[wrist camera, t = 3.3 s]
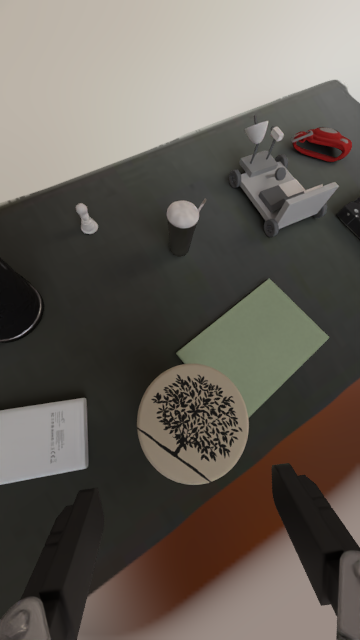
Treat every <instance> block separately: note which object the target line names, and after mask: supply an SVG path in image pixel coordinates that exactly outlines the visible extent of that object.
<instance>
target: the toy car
mask: <svg viewBox="0 0 360 640" xmlns="http://www.w3.org/2000/svg"><path fill="white" fill-rule="evenodd" d="M254 122H255V125H253V126H251V127H249V128H246V129H245V130H244V131H245V133H246V134H247V136H248V138H249V139H250V140H251V141H252V142H253V143H254V144H257V145H256V147H255V150H254V153H253V155H250V156H247V157H244V158H241V159H240V162H239V164H240V165H241V166H242V168H243V169H244V170H245V172H246V173H244V174H240V172H239V171H238V170H237V169H235V170H232V171H231V172H230V174H229V182H230V184H231V186H232V187H233V188H237V187H239V186H240V187H241V188H242V189H243V191H244V192H245V193H246V195H247V196H248V198H249V199H250V200H251V202H252V203H253V204H254V206H255V207H256V208H257V210H258V211H259V213H260V214H261V215H262V217H263V218H264V219H265V223H264V231H265V233H266V235H267V236H269V237H273V236H275V235H277V234H278V231H279V229H280V228H283V227H285V226H288V225H290V224H293V223H295V222H297V221H300V220H302V219H305V218H307V217H310V216H313V217H315V218H320V217H322V216H324V215H325V213H326V211H327V205H326V202H327V200H328V199H329V198H330V197H331V195H332V194H333V193H334V192H335V190H336V189H337V188H338V187H339V186H338V185H337V184H336V182H333V183H331V184H328V185H325V186H323V184H321V185H319V186H316V187H313V188H311V189H308V190H305V189H304V188H303V187H302V186H301V184H300V183H299V182H298V181H297V180H296V179H294V177H293V176H292V175H291V174H290V173H289V171H288V170H287V169H286V168H287V166H288V159H287V157H286V156H285V155H284V154H281V155H278V156H277V157H276V159H275V160H274V158H273V157H272V156H271V155H270V153H271V151H272V148H273V146H274V144H275V141H280V140H282V138H283V136H284V133H283V132H282V131H281V130H280V129H279V128H278V127H275V128H274V126H273V127H271V131H272V132H271V135H272V136H273V138H274V140H273V143H272V145H271V147H270V150H269V152H268V151H267V150H266V151H263V152H259V153H256V151H257V148H258V146H259V143H260V142H261V141H262V139H263V138H264V135H265V133H266V129H267V126H268V122H269V121H265V122H262V123H259V124H257V116H256V115H255V116H254Z"/></svg>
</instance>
